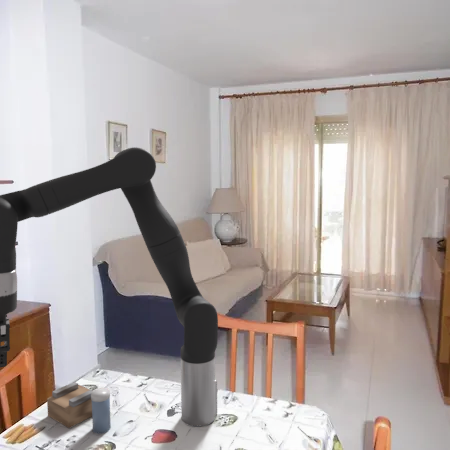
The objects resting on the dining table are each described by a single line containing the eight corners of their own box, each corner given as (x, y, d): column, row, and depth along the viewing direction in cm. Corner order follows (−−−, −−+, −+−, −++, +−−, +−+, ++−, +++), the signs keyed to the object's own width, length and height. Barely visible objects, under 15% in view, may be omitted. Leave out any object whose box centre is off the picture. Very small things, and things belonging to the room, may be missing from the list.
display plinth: (79, 400, 127) (78, 379, 126) (100, 411, 121) (99, 389, 120) (47, 415, 119) (46, 393, 118) (69, 428, 113) (68, 404, 112)
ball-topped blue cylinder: (103, 421, 116) (102, 386, 115) (114, 427, 113) (113, 391, 112) (88, 429, 112) (87, 393, 111) (99, 436, 109) (98, 398, 108)
